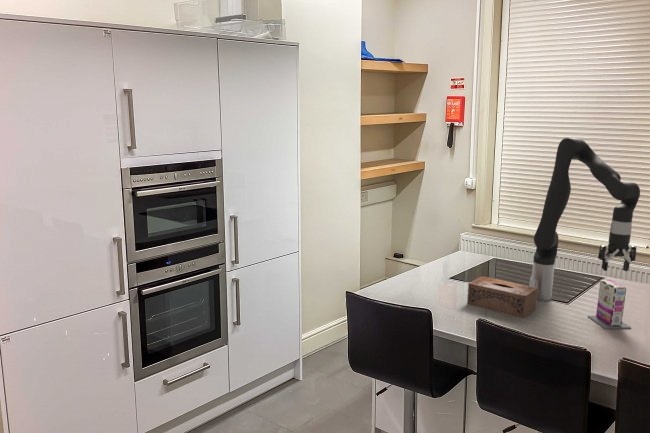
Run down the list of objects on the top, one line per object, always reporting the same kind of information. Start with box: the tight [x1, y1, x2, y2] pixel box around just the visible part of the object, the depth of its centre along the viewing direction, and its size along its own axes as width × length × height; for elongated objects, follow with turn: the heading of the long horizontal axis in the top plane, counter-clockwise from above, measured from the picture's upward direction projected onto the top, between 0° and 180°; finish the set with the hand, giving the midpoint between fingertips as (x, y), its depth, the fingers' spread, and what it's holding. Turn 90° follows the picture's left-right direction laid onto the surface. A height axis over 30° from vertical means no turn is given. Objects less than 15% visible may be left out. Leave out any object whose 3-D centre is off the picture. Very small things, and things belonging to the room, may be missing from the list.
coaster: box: [587, 315, 632, 330], centre depth 229 cm, size 11×13×1 cm
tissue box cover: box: [466, 276, 538, 319], centre depth 246 cm, size 26×14×10 cm, turn 50°
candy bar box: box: [595, 279, 627, 326], centre depth 228 cm, size 11×5×16 cm, turn 4°
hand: (614, 270), depth 225 cm, fingers open, 8 cm apart
